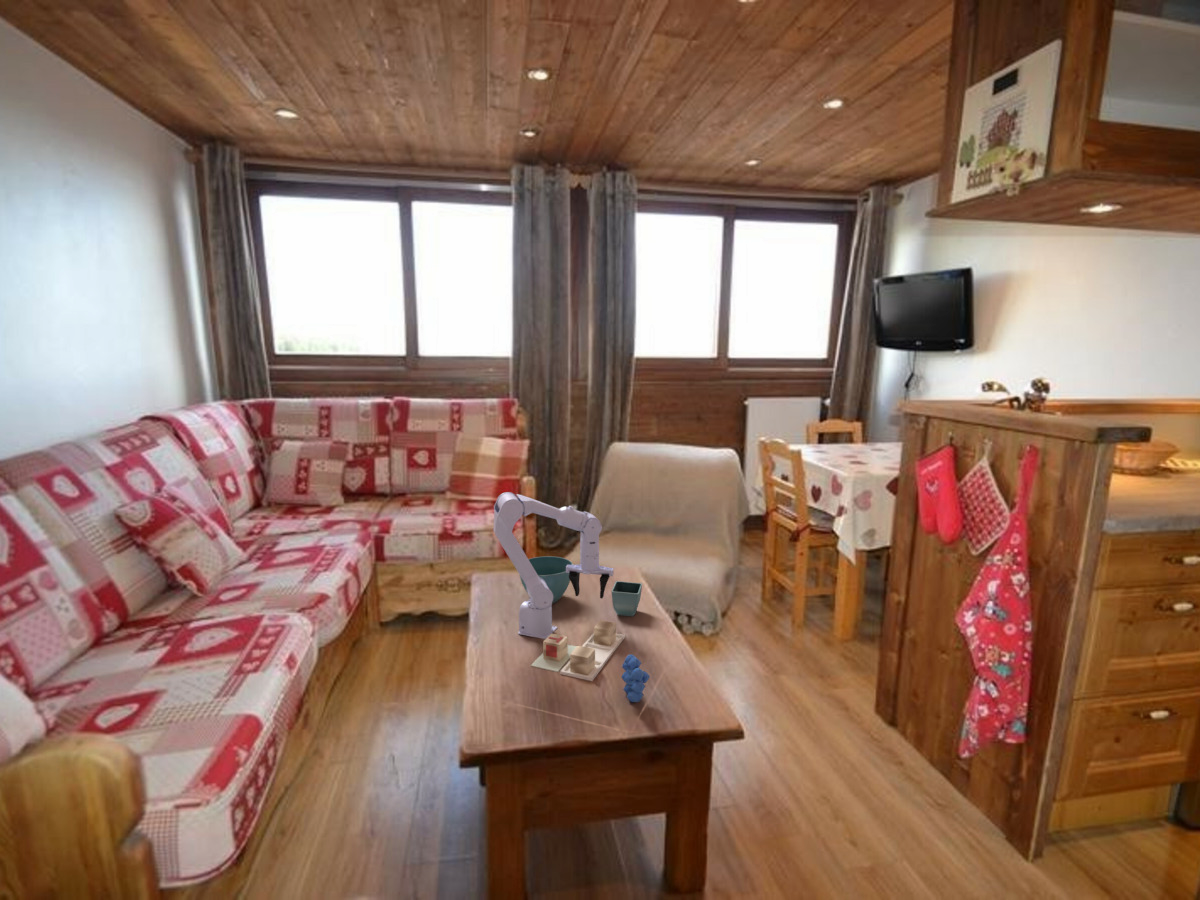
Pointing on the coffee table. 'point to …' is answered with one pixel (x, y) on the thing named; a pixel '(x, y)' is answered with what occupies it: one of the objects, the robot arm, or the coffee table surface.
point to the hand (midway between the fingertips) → (589, 596)
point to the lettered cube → (555, 647)
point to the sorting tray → (600, 657)
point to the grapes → (634, 678)
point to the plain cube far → (605, 633)
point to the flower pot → (626, 597)
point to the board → (553, 664)
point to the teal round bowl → (552, 574)
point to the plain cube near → (582, 660)
